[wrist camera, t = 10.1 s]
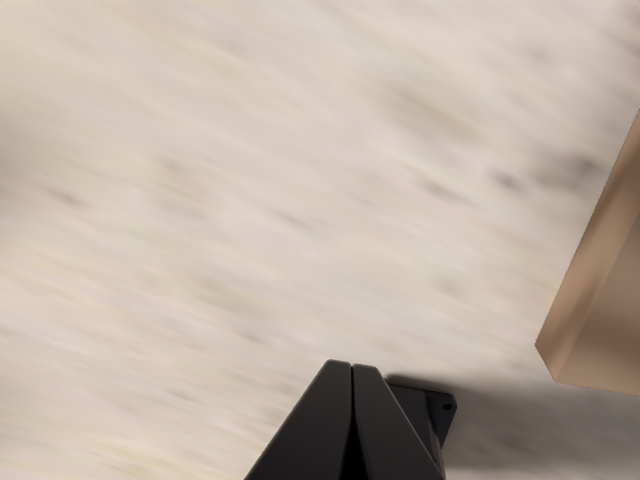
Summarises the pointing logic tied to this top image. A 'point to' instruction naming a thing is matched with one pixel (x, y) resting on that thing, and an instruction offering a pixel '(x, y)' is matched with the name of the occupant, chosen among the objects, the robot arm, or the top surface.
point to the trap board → (602, 290)
